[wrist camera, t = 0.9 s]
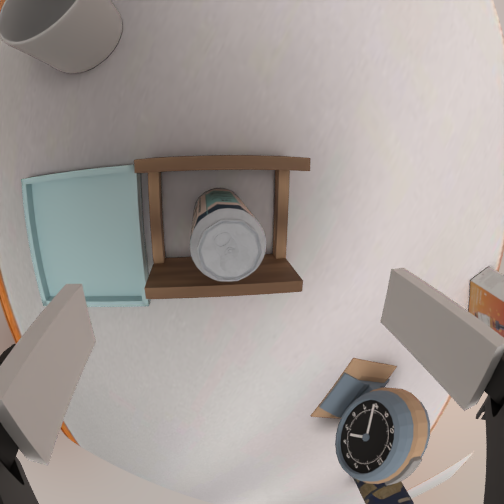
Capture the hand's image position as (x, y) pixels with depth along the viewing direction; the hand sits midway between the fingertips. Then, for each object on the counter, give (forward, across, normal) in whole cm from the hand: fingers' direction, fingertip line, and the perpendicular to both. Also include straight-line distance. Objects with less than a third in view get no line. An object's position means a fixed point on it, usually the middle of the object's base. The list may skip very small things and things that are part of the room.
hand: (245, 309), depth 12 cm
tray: (+18, -14, -2) cm, 23 cm away
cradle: (+18, 0, 0) cm, 19 cm away
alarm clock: (+19, +20, -28) cm, 39 cm away
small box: (+19, +43, -13) cm, 49 cm away
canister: (+19, +33, -60) cm, 71 cm away
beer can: (+19, 0, 0) cm, 19 cm away
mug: (+19, -15, +21) cm, 32 cm away
